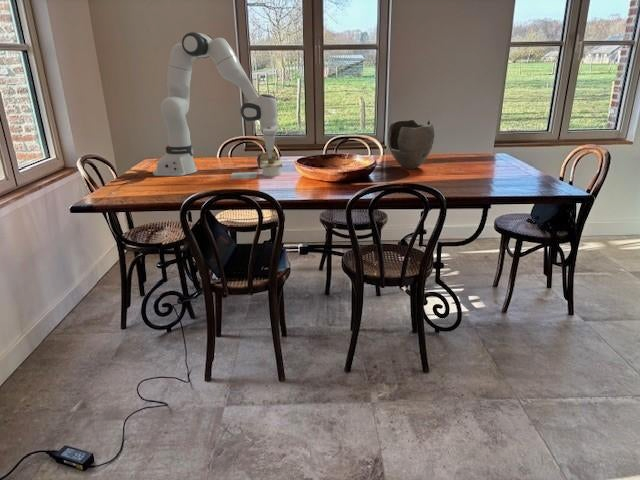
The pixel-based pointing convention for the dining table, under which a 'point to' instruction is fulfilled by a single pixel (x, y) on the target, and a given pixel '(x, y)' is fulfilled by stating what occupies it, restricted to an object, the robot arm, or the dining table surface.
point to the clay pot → (410, 142)
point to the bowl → (271, 171)
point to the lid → (271, 163)
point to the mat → (244, 175)
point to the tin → (266, 157)
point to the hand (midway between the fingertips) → (270, 156)
